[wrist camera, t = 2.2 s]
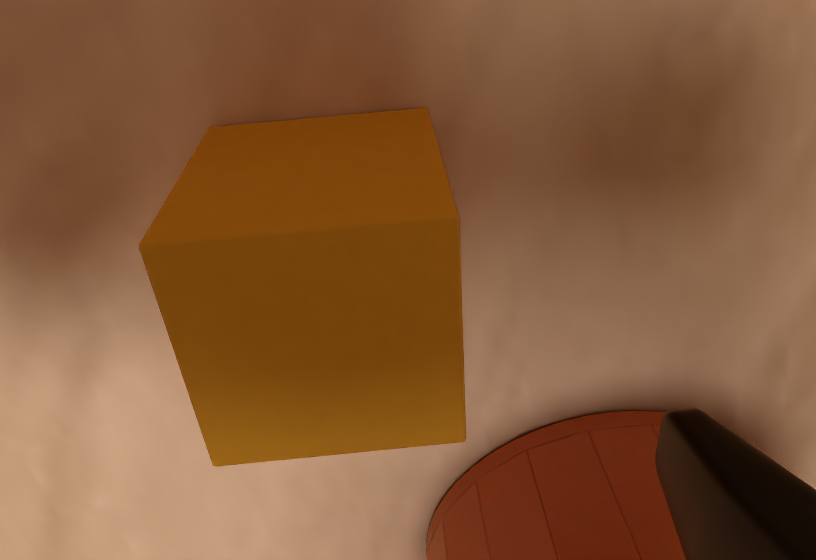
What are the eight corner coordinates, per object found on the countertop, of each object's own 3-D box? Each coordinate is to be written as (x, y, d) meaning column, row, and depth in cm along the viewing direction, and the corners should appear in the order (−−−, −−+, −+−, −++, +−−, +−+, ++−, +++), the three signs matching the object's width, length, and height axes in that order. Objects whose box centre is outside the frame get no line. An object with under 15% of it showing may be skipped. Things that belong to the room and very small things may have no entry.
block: (427, 106, 13) (459, 215, 9) (437, 289, 16) (466, 443, 11) (207, 126, 13) (135, 245, 9) (251, 306, 16) (212, 468, 11)
